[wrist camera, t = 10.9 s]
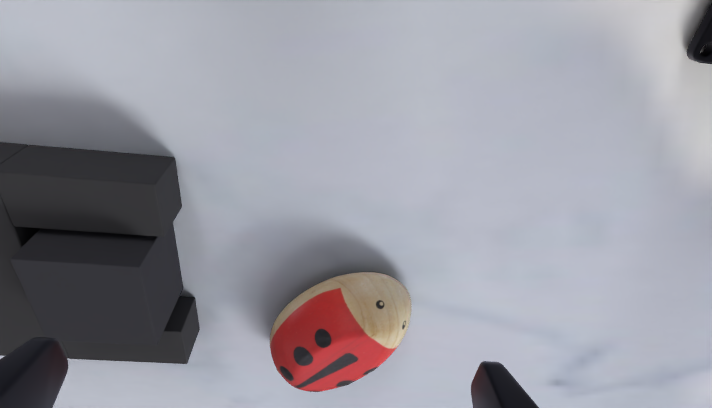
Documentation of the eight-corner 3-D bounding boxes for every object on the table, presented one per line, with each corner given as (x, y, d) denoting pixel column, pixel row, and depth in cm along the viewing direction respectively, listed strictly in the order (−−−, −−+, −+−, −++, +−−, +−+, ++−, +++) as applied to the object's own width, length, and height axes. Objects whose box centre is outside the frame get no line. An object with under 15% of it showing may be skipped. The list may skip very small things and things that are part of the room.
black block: (171, 213, 21) (139, 267, 18) (183, 287, 24) (157, 345, 20) (63, 205, 20) (8, 258, 17) (88, 282, 23) (46, 340, 20)
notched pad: (175, 156, 19) (155, 184, 17) (199, 329, 26) (187, 364, 24) (-82, 134, 18) (-137, 160, 16) (11, 319, 25) (-19, 355, 23)
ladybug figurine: (434, 301, 25) (446, 350, 22) (323, 374, 29) (321, 425, 26) (355, 240, 22) (357, 288, 19) (244, 330, 26) (231, 381, 23)
